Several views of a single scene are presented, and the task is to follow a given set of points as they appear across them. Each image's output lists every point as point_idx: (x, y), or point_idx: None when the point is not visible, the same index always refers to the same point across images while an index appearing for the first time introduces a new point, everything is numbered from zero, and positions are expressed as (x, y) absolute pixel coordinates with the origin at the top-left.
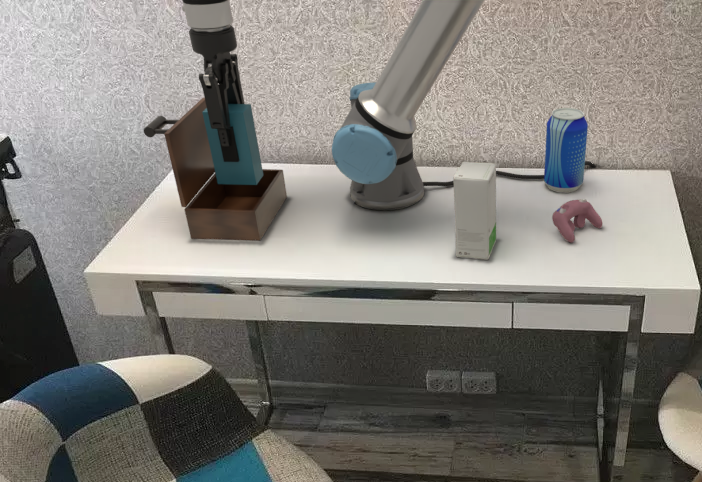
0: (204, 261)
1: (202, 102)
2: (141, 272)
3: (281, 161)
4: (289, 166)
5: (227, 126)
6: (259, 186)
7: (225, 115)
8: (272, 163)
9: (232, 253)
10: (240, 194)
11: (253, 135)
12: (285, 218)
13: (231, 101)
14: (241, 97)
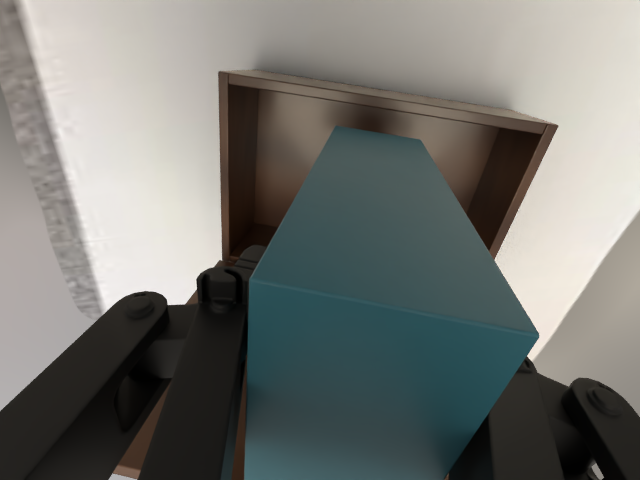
0: (559, 227)
1: (133, 465)
2: (557, 324)
3: (37, 119)
4: (58, 92)
5: (533, 369)
6: (246, 149)
7: (549, 449)
8: (56, 141)
9: (542, 174)
10: (253, 193)
11: (357, 183)
12: (372, 58)
13: (234, 428)
14: (108, 365)
